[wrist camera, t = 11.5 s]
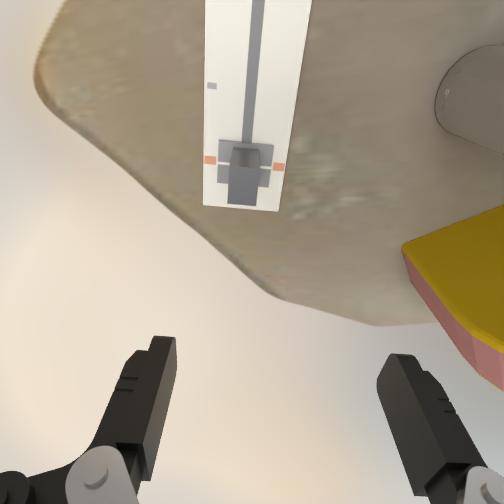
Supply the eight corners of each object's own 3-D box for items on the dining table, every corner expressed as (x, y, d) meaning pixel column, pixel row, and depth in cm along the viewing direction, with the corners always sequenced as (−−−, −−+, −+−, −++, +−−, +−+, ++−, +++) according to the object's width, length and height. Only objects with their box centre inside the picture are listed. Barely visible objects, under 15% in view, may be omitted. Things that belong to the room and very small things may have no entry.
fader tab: (273, 144, 36) (278, 165, 30) (268, 185, 39) (271, 212, 32) (219, 139, 36) (211, 158, 29) (217, 180, 39) (210, 206, 32)
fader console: (320, -79, 28) (326, -90, 26) (276, 203, 43) (278, 211, 41) (210, -95, 27) (206, -108, 25) (205, 197, 43) (202, 205, 40)
